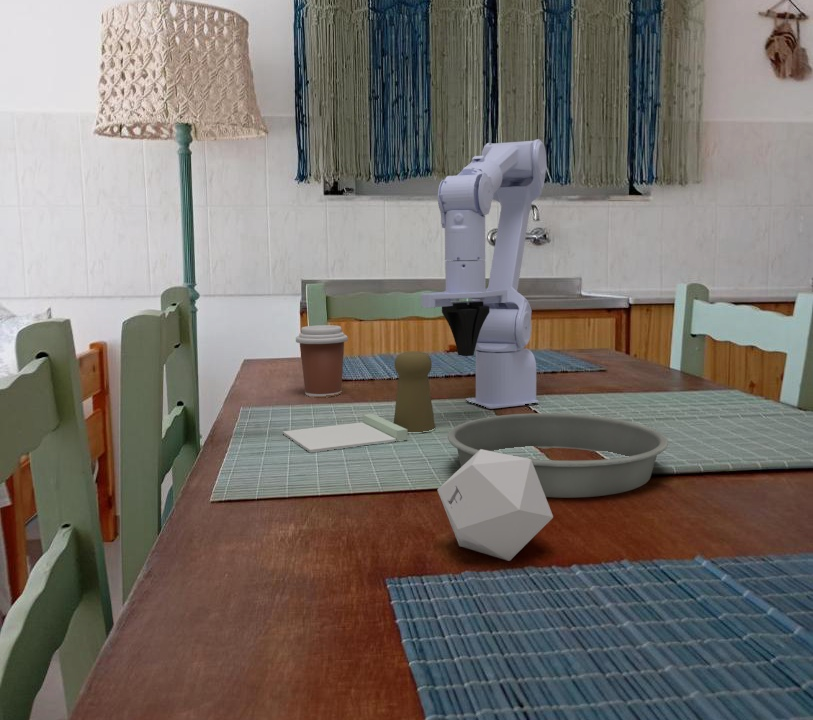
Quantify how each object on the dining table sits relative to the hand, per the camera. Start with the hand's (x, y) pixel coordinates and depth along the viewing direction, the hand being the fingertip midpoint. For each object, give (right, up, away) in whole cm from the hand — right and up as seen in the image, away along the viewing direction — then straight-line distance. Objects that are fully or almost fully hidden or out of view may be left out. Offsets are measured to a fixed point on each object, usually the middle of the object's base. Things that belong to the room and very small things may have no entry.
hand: (465, 355), depth 118 cm
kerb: (-12, -11, -4) cm, 16 cm away
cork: (-8, -11, -2) cm, 13 cm away
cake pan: (+8, -14, -24) cm, 29 cm away
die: (-1, -17, -48) cm, 51 cm away
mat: (-18, -11, -7) cm, 22 cm away
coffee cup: (-23, -7, +27) cm, 36 cm away
